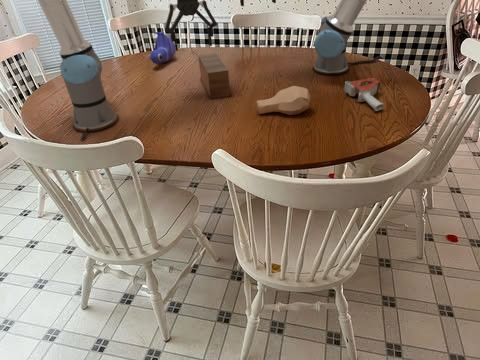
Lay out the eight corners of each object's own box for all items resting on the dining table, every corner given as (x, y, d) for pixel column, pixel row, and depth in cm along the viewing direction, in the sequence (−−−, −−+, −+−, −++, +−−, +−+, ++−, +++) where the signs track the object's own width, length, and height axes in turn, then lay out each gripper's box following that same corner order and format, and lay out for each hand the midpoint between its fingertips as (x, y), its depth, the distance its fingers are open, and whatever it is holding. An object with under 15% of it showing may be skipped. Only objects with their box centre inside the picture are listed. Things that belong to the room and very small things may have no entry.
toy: (164, 64, 198) (143, 70, 176) (159, 31, 191) (137, 33, 169) (180, 63, 196) (162, 69, 173) (176, 30, 189) (156, 32, 167)
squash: (314, 116, 128) (313, 95, 122) (259, 125, 130) (256, 105, 124) (308, 99, 136) (307, 78, 129) (257, 108, 138) (253, 88, 131)
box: (230, 96, 147) (228, 70, 140) (210, 99, 145) (207, 73, 139) (218, 76, 166) (216, 53, 160) (201, 79, 165) (198, 55, 158)
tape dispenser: (379, 117, 128) (393, 93, 140) (382, 104, 124) (396, 81, 137) (332, 106, 135) (349, 84, 148) (334, 93, 132) (351, 72, 144)
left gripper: (217, -18, 134) (222, 40, 147) (150, -10, 130) (162, 49, 143) (221, -15, 128) (226, 45, 141) (151, -7, 124) (163, 54, 137)
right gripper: (284, -61, 139) (283, -1, 151) (222, -56, 135) (226, 5, 147) (291, -60, 133) (289, 2, 145) (226, -55, 129) (230, 8, 141)
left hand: (193, 47), depth 142 cm, fingers open, 13 cm apart
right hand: (258, 4), depth 146 cm, fingers open, 13 cm apart
